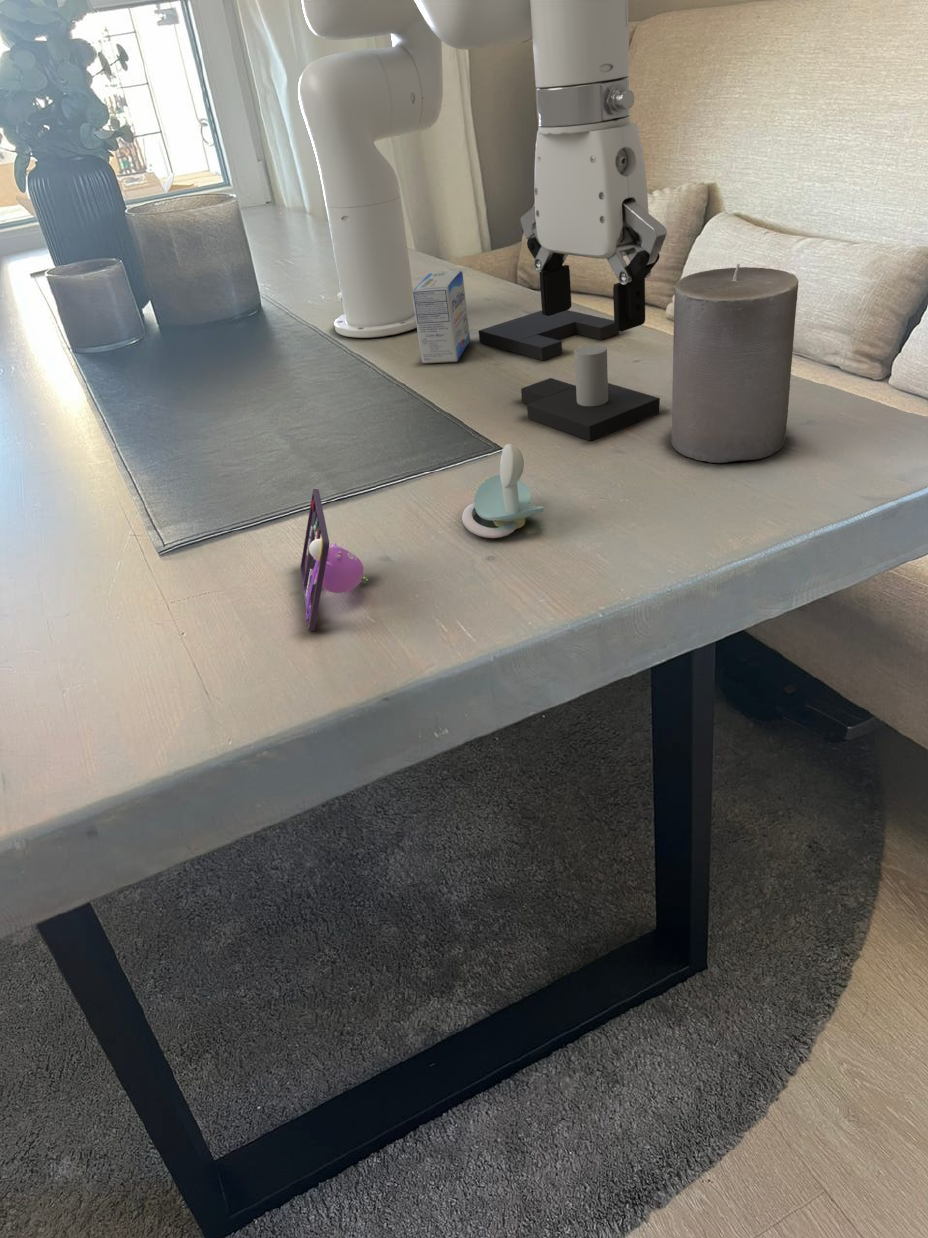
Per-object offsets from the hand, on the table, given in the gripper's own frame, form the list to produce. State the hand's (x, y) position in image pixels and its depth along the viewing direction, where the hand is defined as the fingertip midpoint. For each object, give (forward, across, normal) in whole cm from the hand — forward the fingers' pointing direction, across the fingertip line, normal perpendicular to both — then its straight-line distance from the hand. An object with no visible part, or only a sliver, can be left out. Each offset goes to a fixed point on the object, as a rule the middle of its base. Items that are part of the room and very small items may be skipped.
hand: (592, 319), depth 86 cm
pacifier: (+10, -10, +20) cm, 25 cm away
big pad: (+9, +24, -14) cm, 29 cm away
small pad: (+9, +3, 0) cm, 10 cm away
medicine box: (+9, +30, -3) cm, 31 cm away
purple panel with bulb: (+10, -10, +35) cm, 38 cm away
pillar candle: (+10, -14, -3) cm, 17 cm away
